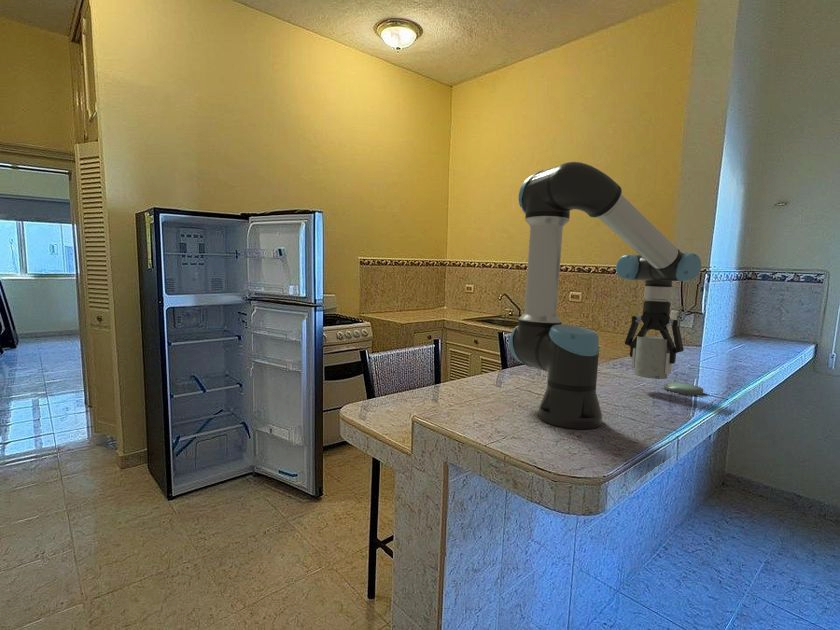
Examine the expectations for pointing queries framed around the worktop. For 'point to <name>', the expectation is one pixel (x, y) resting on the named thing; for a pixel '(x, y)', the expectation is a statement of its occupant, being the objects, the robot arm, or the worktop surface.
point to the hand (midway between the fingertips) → (650, 370)
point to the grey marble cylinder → (651, 357)
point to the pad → (683, 388)
